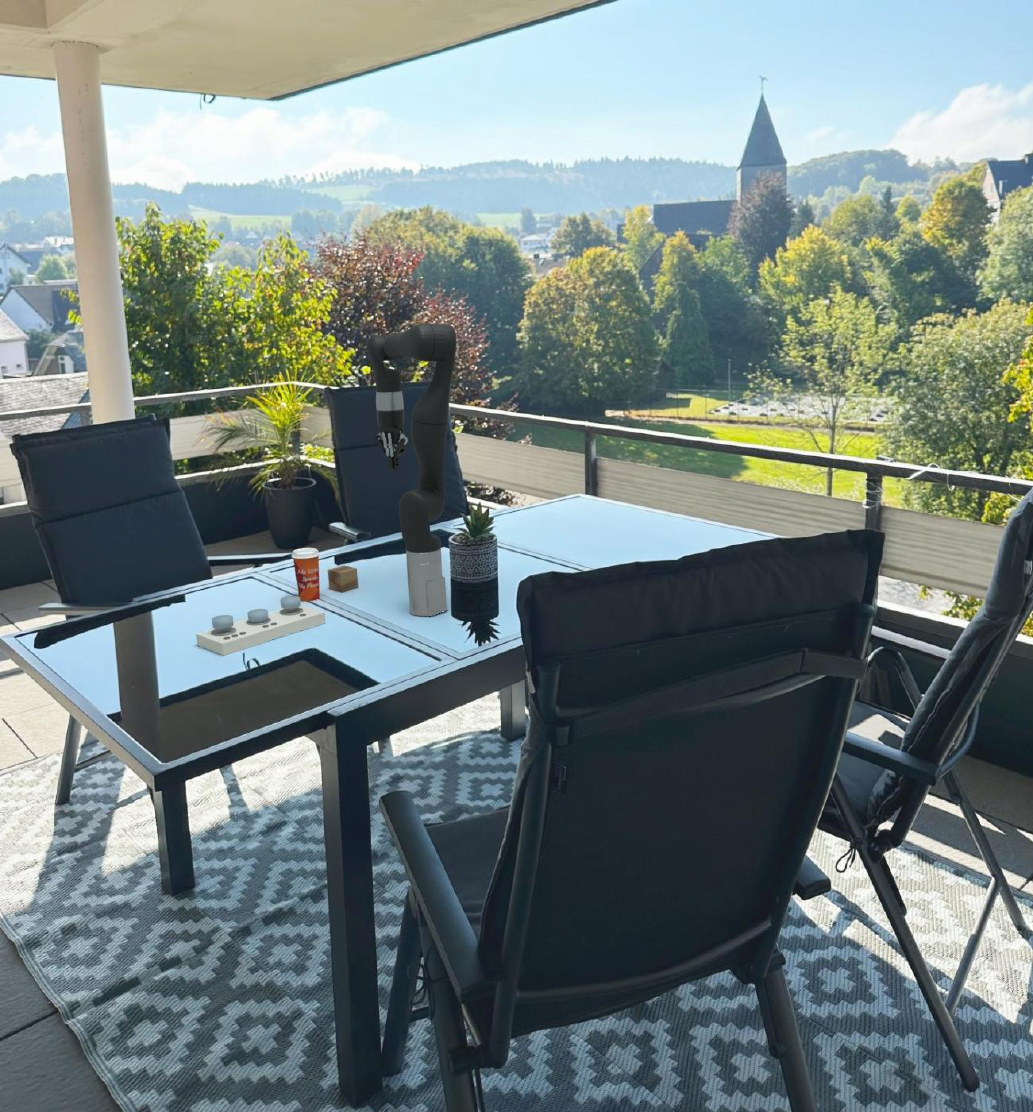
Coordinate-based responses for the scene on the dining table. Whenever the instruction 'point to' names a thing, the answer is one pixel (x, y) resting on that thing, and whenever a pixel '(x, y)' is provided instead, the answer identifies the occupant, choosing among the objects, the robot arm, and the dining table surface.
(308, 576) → the paper cup
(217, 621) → the three-dot button
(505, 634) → the dining table surface
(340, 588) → the walnut block
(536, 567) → the dining table surface
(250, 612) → the two-dot button
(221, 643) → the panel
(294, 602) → the one-dot button
